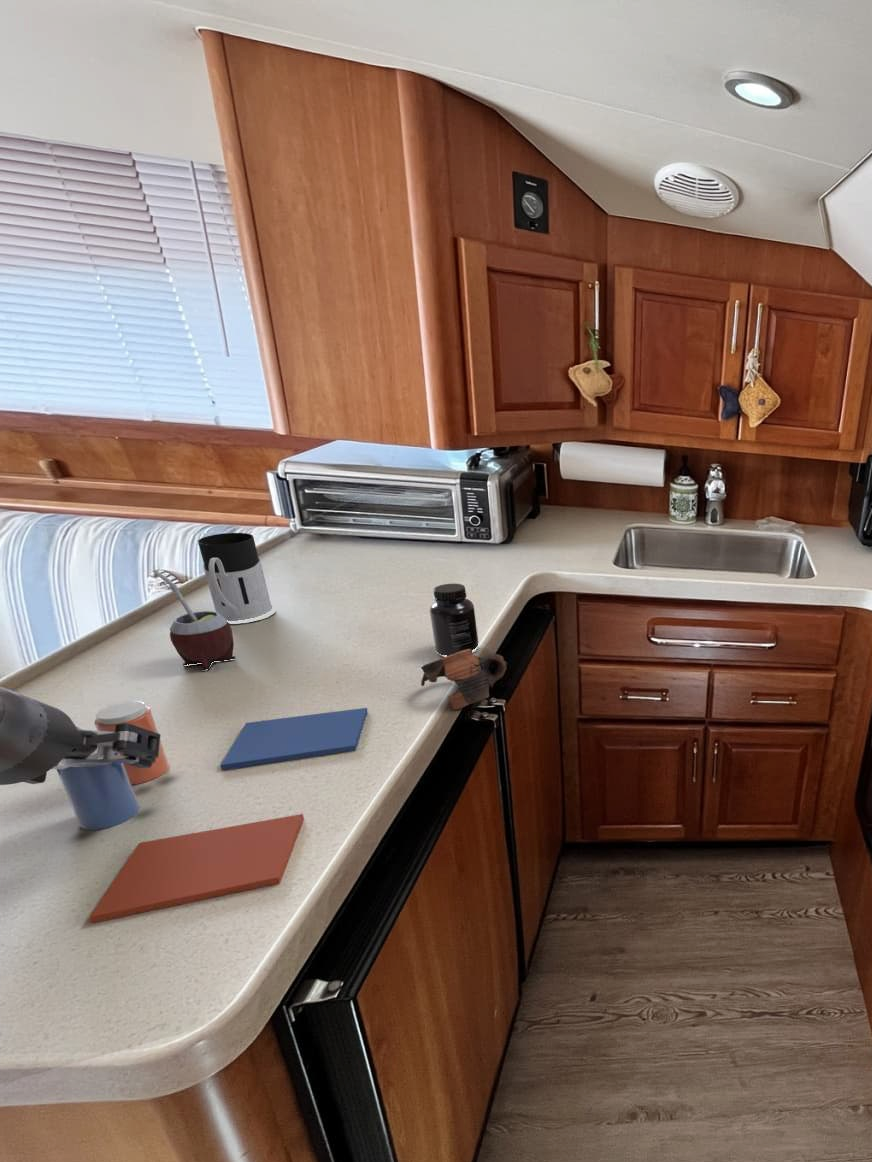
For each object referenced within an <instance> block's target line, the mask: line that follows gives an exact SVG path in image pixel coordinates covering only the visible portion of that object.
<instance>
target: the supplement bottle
mask: <svg viewBox="0 0 872 1162" xmlns="http://www.w3.org/2000/svg"><path fill="white" fill-rule="evenodd" d="M433 600H434V601H435V602H433V603H431V605H430V607H429V616H430V622H431V629H432V635H433V642H434V648H435V652H436V651H437V652H438V653H439V654H441V655H447V656H449V655H452V654H455V653H457V652H460V651H463V650H466V649H471V650H473V649H475V648H476V647H477V646H478V643H479V636H478V627H477V619H476V618H477V617H476V612H475V610H476V609H475V604H474V603H473V602H472V601H471V600H470V599H468V598H467V592H466V587H465V585H464V584H461V583H444V584H440V585H438V586H437V585H436V586H435V587H434V588H433ZM437 652H436V653H437Z"/></svg>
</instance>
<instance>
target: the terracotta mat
mask: <svg viewBox="0 0 872 1162" xmlns="http://www.w3.org/2000/svg"><path fill="white" fill-rule="evenodd" d="M304 820H305V817H304V814H303V813H300V814H294V815H289V816H283V817H282V816H281V817H277V818H272V819H271V818H270V819H267V820H260V821H254V822H250V823H244V824H238V825H237V824H236V825H233V826H226V827H220V828H215V829H210V830H204V831H199V832H194V833H187V834H182V835H177V836H171V837H165V838H159V839H154V840H147V841H142V842H139V843H138V844H137V846H136V847H135V848H134V850H133V851H132V853H131V855H130V856H129V857H128V859H127V860H126V862H125V863H124V865H123V866H122V868H121V869H120V871H119V872H118V874H117V875H116V877H115V878H114V880H113V881H112V883H111V884H110V886H108V889H107V890H106V891H105V893H104V894H103V896H102V898H101V899H100V900H99V902H98V903H97V904H96V906H95V908H94V909H93V911H92V912H91V914H90V915H89V920H90V922H91V923H92V924H94V923H99V922H103V921H108V920H113V919H118V918H122V917H126V916H127V917H128V916H132V915H137V914H141V913H146V912H151V911H154V910H160V909H164V908H170V907H174V906H179V905H184V904H188V903H193V902H198V901H203V900H207V899H213V898H218V897H222V896H227V895H231V894H236V893H241V892H245V891H249V890H254V889H258V888H264V887H268V886H273V885H278V884H281V881H282V878H283V876H284V874H285V870H286V868H287V865H288V863H289V860H290V857H291V854H292V852H293V849H294V847H295V844H296V842H297V839H298V836H299V835H300V831H301V828H302V825H303V823H304Z"/></svg>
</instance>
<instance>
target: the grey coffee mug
mask: <svg viewBox="0 0 872 1162" xmlns="http://www.w3.org/2000/svg"><path fill="white" fill-rule="evenodd" d="M197 544H198V547H199V551H200V555H201V558H202V562H203V566H202V567H203V570H204V574H205V578H206V581H207V585H208V589H209V592H210V596H211V599H212V603H213V606H214V607H213V608H214V610H215V612H217V613H219V614H220V615H222V616H223V617H224V618H225V619H226V620H228V621H238V620H245V619H250V618H255V617H258V616H261V615H263V614H266V613H267V612H269V611H271V609H272V607H273V605H272V603H271V599H270V594H269V590H268V586H267V582H266V578H265V574H264V569H263V565H262V562H261V559H260V558H259V553H258V550H257V546H256V543H255V538H254V535H253V534H251V533H248V532H247V533H246V532H225V533H215V534H210V535H207V536H204V537H201V538H199V539H198V540H197Z"/></svg>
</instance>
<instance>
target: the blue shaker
mask: <svg viewBox="0 0 872 1162" xmlns="http://www.w3.org/2000/svg"><path fill="white" fill-rule="evenodd" d="M97 749H98V746H97ZM114 754H115V755H120V753H114ZM96 756H97V750H96V751H95V752H93V753H92V754H91V755H90V756H89V757H88V758H86V759H96ZM120 756H121V755H120ZM55 770H56V772H57V774H58V777H59V779H60V781H61V784H62V786H63V789H64V791H65V794H66V796H67V798H68V801H69V803H70V806H71V808H72V810H73V813H74V815H75V818H76V820H77V822H78V825H79V827H80V828H81V829H83V830H86V831H98V830H104V829H108V828H112V827H114V826H117V825H120V824H122V823H124V822H126V821H128V820H129V819H131V818H133V817H134V816H135V815H136V814H137V813H138V812H139V810H140V804H139V802H138V799H137V795H136V793H135V790H134V788H133V785H131V782H130V779H129V777H128V774H127V771H126V769H125V766H124V763H111V764H108V765H106V766H103V767H69V768H66V769H55Z"/></svg>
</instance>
